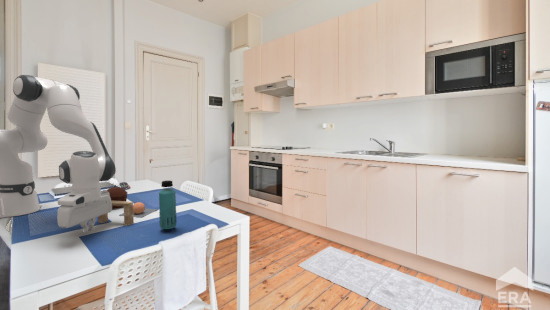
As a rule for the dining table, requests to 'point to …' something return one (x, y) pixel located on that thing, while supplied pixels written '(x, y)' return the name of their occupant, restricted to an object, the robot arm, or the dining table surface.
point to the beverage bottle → (167, 206)
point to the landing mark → (144, 213)
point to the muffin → (117, 195)
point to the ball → (138, 208)
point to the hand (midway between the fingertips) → (88, 230)
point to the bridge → (127, 212)
